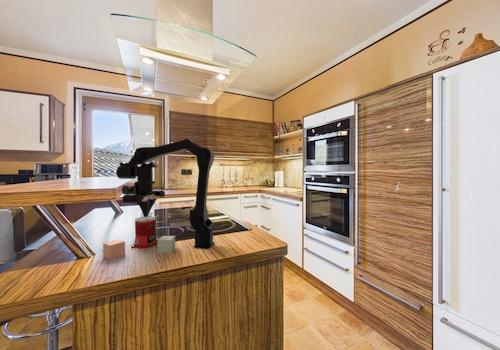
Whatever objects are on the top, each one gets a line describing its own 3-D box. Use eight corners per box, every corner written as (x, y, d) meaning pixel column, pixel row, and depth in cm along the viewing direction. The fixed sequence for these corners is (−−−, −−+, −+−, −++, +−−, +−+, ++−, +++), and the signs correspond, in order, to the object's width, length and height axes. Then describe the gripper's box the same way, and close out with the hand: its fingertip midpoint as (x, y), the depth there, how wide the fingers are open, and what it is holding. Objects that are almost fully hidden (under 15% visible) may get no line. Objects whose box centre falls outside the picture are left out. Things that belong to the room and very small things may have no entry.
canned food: (151, 248, 86) (150, 220, 85) (131, 248, 86) (130, 220, 86) (159, 241, 94) (159, 216, 93) (141, 241, 94) (141, 216, 93)
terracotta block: (125, 254, 80) (124, 241, 79) (110, 259, 75) (110, 245, 75) (117, 252, 82) (117, 239, 82) (103, 256, 78) (103, 243, 78)
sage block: (175, 248, 86) (175, 235, 86) (171, 253, 81) (171, 240, 81) (162, 248, 86) (162, 236, 86) (157, 253, 81) (157, 240, 81)
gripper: (143, 177, 100) (144, 211, 100) (109, 180, 81) (110, 221, 82) (165, 177, 97) (165, 212, 98) (135, 180, 79) (136, 222, 80)
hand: (145, 216), depth 89 cm, fingers closed
